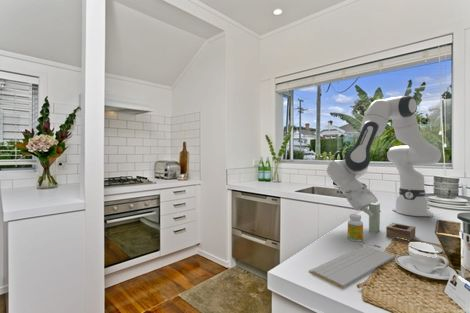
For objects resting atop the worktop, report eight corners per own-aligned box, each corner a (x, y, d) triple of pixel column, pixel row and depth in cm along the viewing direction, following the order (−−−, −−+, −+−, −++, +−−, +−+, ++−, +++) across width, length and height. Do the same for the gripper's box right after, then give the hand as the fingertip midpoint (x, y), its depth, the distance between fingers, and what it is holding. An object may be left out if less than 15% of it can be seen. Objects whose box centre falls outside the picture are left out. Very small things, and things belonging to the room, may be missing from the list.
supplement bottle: (348, 240, 94) (348, 216, 93) (347, 236, 99) (347, 213, 98) (363, 242, 92) (364, 217, 91) (361, 238, 97) (362, 214, 96)
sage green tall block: (372, 228, 109) (372, 202, 109) (379, 230, 106) (379, 203, 106) (368, 230, 106) (369, 203, 106) (376, 232, 104) (376, 204, 104)
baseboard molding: (304, 271, 70) (343, 291, 60) (304, 261, 70) (343, 280, 60) (358, 247, 88) (395, 259, 78) (358, 239, 88) (395, 251, 78)
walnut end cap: (393, 231, 105) (393, 222, 105) (415, 236, 99) (415, 226, 99) (386, 236, 99) (386, 226, 99) (409, 241, 93) (409, 231, 93)
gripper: (348, 187, 104) (372, 214, 97) (366, 183, 118) (389, 206, 111) (338, 196, 108) (361, 222, 101) (357, 191, 121) (378, 214, 114)
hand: (376, 214), depth 106 cm, fingers open, 7 cm apart
